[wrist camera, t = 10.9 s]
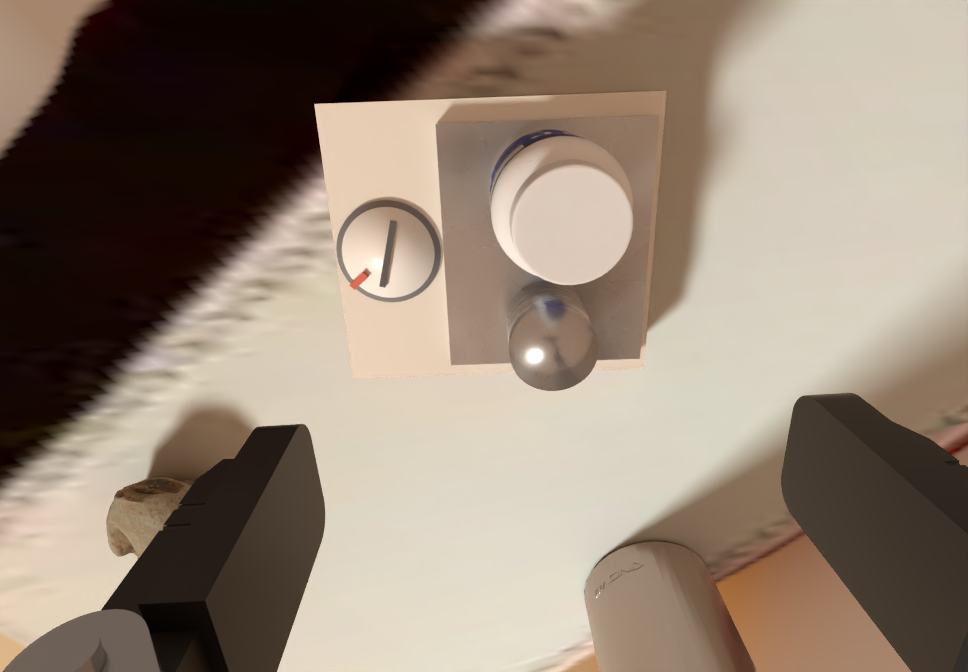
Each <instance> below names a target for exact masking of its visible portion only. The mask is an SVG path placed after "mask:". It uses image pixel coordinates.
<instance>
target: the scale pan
mask: <svg viewBox="0 0 968 672" xmlns="http://www.w3.org/2000/svg"><path fill="white" fill-rule="evenodd" d="M435 126H436V142H437V157H438V173H439V188H440V204H441V219H442V235H443V250H444V266H445V281H446V297H447V313H448V328H449V344H450V359H451V365H474V364H503V363H511V361H510V356H509V345H508V333H507V321H506V320H507V311H508V307H509V305H510V303H511V301H512V299H513V298H514V297H515V296H516V294H517V293H518V292H519V291H521V290H522V289H523V288H525V287H527V286H529V285H531V284H533V283H537V282H542V281H546V280H544V279H542V278H540V277H538V276H535V275H533V274H531V273H529V272H527V271H525V270H524V269H522V268H521V267H519V266H518V265H517V264H516V263H514V262H513V261H512V260H511V259H510V258H509V256H508V255H507V254H506V253H505V252H504V250H503V249H502V247H501V246H500V244H499V242H498V240H497V238H496V235H495V232H494V229H493V225H492V221H491V210H490V192H489V188H490V179H491V175H492V171H493V168H494V166H495V164H496V162H497V160H498V158H499V157H500V155H501V154H502V152H503V151H504V150H505V149H506V148H507V147H508V146H509V145H510V144H511V143H512V142H513V141H515V140H516V139H518V138H519V137H521V136H523V135H525V134H527V133H530V132H533V131H537V130H543V129H556V130H561V131H565V132H568V133H571V134H573V135H576V136H579V137H581V138H584V139H587V140H589V141H592V142H594V143H596V144H598V145H599V146H601V147H602V148H604V149H605V150H606V151H608V152H609V153H610V154H611V155H612V156H613V157H614V158H615V159H616V160H617V162H618V163H619V164H620V165H621V167H622V168H623V170H624V172H625V174H626V176H627V178H628V180H629V183H630V186H631V190H632V196H633V231H632V236H631V239H630V242H629V245H628V247H627V249H626V251H625V253H624V254H623V256H622V257H621V259H620V260H619V261H618V263H617V264H616V265H615V266H614V267H613V268H612V269H611V270H609V271H608V272H607V273H605V274H604V275H602V276H601V277H599V278H597V279H595V280H592V281H589V282H587V283H583V284H577V285H566V286H567V287H569V288H570V289H572V290H573V291H574V292H575V293H576V294H577V295H578V297H579V298H580V300H581V302H582V304H583V306H584V308H585V311H586V313H587V315H588V317H589V319H590V322H591V324H592V326H593V328H594V331H595V333H596V336H597V338H598V343H599V354H598V358H597V360H620V359H640V352H641V339H642V327H643V314H644V302H645V289H646V276H647V264H648V251H649V239H650V226H651V214H652V201H653V188H654V176H655V163H656V151H657V138H658V126H659V115H636V116H609V117H583V118H557V119H530V120H504V121H477V122H451V123H436V124H435Z"/></svg>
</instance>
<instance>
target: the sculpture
mask: <svg viewBox="0 0 968 672" xmlns="http://www.w3.org/2000/svg"><path fill="white" fill-rule="evenodd" d="M194 482H195V481H193V480H185V481H183V482H180V481H177V480H175V479H171V478H166V477H156V478H151V479H147V480H143V481H141V482H138V483H135V484H132V485H129V486H126V487H124V488H123V489H122V490H119V491H117V493H116V494H115V497H114V501H113V502H112V504H111V506H110V509H109V512H108V516H107V536H108V542H109V546H110V548H111V550H112V551H113V553H114V554H115V555H117V556H118V557H119V556H124V555H126V554H128V553H134V554H135V555H136V556H137V557H138V559H139V557H140V556H141V555H142V553H143V552H144V551H145V549H146V548H147V546H148V545H149V544H150V542H151V541H152V540H153V538H154V537H155V535H156V534H157V533H158V531H160V530H163V524H164V523H165V522H166V520H167V519H168V518H169V516H170V515H171V513H172V512H173V511H174V509H178V504H179V503H180V501H181V500H182V498H183V497H184V496H185V494H186V493H187V492H188V490H189V489H190V487H191V486H192V485H193V483H194Z"/></svg>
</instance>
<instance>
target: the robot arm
mask: <svg viewBox="0 0 968 672" xmlns="http://www.w3.org/2000/svg"><path fill="white" fill-rule="evenodd" d="M781 485H782V492H783V496H784V500H785V503H786V505H787V508H788V509H789V511H790V513H791V515H792V516H793V517H794V519H795V520H796V521H797V523H798V524H799V525H800V526H801V528H802V529H803V530H804V532H805V533H806V534H807V536H808V537H809V538H810V540H811V541H812V542H813V543H814V545H815V546H816V547H817V549H818V550H819V551H820V553H821V554H822V555H823V557H824V558H825V559H826V560H827V562H828V563H829V564H830V566H831V567H832V568H833V569H834V571H835V572H836V573H837V575H838V576H839V577H840V579H841V580H842V581H843V583H844V584H845V585H846V587H847V588H848V589H849V590H850V592H851V593H852V594H853V596H854V597H855V598H856V600H857V601H858V602H859V604H860V605H861V606H862V607H863V609H864V610H865V611H866V613H867V614H868V615H869V617H870V618H871V619H872V621H873V622H874V623H875V624H876V626H877V627H878V628H879V630H880V631H881V632H882V633H883V635H884V636H885V638H886V639H887V640H888V641H889V643H890V644H891V645H892V647H893V648H894V649H895V651H896V652H897V653H898V654H899V656H900V657H901V658H902V660H903V661H904V662H905V663H906V665H907V666H908V667H909V669H910V670H911V671H912V672H968V467H967V466H965V465H960V464H959V460H957V459H956V458H955V457H953V456H952V455H951V454H949V453H948V452H947V451H945V450H944V449H943V448H941V447H940V446H939V445H937V444H936V443H935V442H933V441H932V440H931V439H929V438H927V437H925V436H922V435H920V434H918V433H916V432H914V431H912V430H909V429H907V428H905V427H903V426H901V425H899V424H896V423H894V422H892V421H891V420H889V419H888V418H887V417H885V416H884V415H883V414H881V413H880V412H879V411H878V410H876V409H875V408H874V407H872V406H871V405H870V404H868V403H867V402H866V401H865V400H863V399H862V398H861V397H859V396H858V395H856V394H853V393H841V394H824V395H807V396H802V397H800V398H799V399H798V400H797V401H796V403H795V405H794V408H793V412H792V418H791V424H790V429H789V435H788V441H787V446H786V452H785V458H784V464H783V469H782V476H781ZM324 526H325V504H324V498H323V493H322V488H321V483H320V478H319V474H318V469H317V464H316V459H315V454H314V449H313V444H312V440H311V435H310V432H309V430H308V428H307V427H306V425H304V424H296V425H280V426H263V427H257V428H255V429H254V430H253V432H252V433H251V435H250V436H249V438H248V439H247V441H246V442H245V444H244V445H243V447H242V448H241V450H240V451H239V453H238V454H237V456H236V457H235V459H223V460H222V461H221V462H219V463H218V464H217V465H215V466H214V467H213V468H211V469H210V470H209V471H207V472H206V473H205V474H203V475H202V476H201V477H199V478H198V479H197V480H196V481H195V482H194V483H193V485H192V486H191V487H190V489H189V490H188V492H187V493H186V494H185V496H184V497H183V498H182V500H181V501H180V503H179V504H178V509H174V511H173V512H172V513H171V515H170V516H169V518H168V519H167V520H166V522H165V523H164V524H163V530H160V531H158V533H157V534H156V535H155V537H154V538H153V540H152V541H151V542H150V544H149V545H148V546H147V548H146V549H145V551H144V552H143V553H142V555H141V556H140V557H139V559H138V560H137V562H136V563H135V564H134V566H133V567H132V568H131V570H130V571H129V573H128V574H127V575H126V577H125V578H124V579H123V581H122V582H121V584H120V585H119V586H118V588H117V589H116V590H115V592H114V593H113V594H112V596H111V597H110V599H109V600H108V601H107V603H106V604H105V605H104V607H103V608H102V610H101V611H97V612H92V613H89V614H86V615H83V616H80V617H77V618H75V619H73V620H70V621H68V622H66V623H64V624H62V625H60V626H58V627H56V628H54V629H52V630H51V631H49V632H48V633H46V634H44V635H43V636H41V637H40V638H38V639H37V640H36V641H34V642H33V643H32V644H30V645H29V646H28V647H27V648H25V649H24V650H23V651H22V652H21V653H20V654H18V655H17V656H16V657H15V658H14V659H13V660H12V661H11V663H10V664H9V665H8V666H7V667H6V668H5V669H4V670H3V672H277V669H278V666H279V664H280V661H281V658H282V655H283V652H284V649H285V646H286V643H287V640H288V637H289V634H290V632H291V629H292V626H293V623H294V620H295V617H296V614H297V611H298V608H299V605H300V602H301V599H302V597H303V594H304V591H305V588H306V585H307V582H308V579H309V576H310V573H311V570H312V567H313V565H314V562H315V559H316V556H317V553H318V550H319V547H320V544H321V541H322V538H323V533H324ZM584 594H585V604H586V609H587V614H588V618H589V623H590V628H591V633H592V638H593V643H594V649H595V653H596V658H597V663H598V668H599V672H757V670H756V667H755V666H754V663H753V661H752V659H751V657H750V655H749V653H748V651H747V649H746V647H745V645H744V643H743V641H742V638H741V636H740V634H739V632H738V630H737V628H736V626H735V624H734V622H733V620H732V617H731V615H730V613H729V611H728V609H727V607H726V605H725V603H724V601H723V599H722V596H721V594H720V592H719V590H718V588H717V586H716V584H715V582H714V580H713V578H712V576H711V574H710V572H709V570H708V568H707V566H706V564H705V562H704V561H703V560H702V559H701V558H700V557H699V556H698V555H697V554H695V553H694V552H692V551H691V550H689V549H688V548H685V547H682V546H680V545H677V544H673V543H668V542H643V543H637V544H632V545H629V546H626V547H623V548H621V549H619V550H617V551H615V552H613V553H611V554H609V555H608V556H607V557H606V558H604V559H603V560H602V561H601V562H599V563H598V565H597V566H596V567H595V568H594V569H593V570H592V572H591V574H590V576H589V578H588V579H587V582H586V586H585V590H584Z"/></svg>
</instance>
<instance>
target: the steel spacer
mask: <svg viewBox="0 0 968 672" xmlns="http://www.w3.org/2000/svg"><path fill="white" fill-rule="evenodd" d="M506 321H507V333H508V345H509V356H510V361H511V365H512V367H513V369H514V371H515V372H516V374H517V375H518V376H519V378H521V379H522V380H523V381H524V382H525V383H527V384H528V385H530V386H532V387H534V388H537V389H541V390H547V391H557V390H563V389H567V388H570V387H572V386H574V385H576V384H578V383H580V382H581V381H582V380H584V379H585V378H586V377H587V376H588V375H589V374H590V372H591V371H592V370H593V368H594V366H595V364H596V361H597V358H598V354H599V343H598V338H597V336H596V333H595V331H594V328H593V326H592V324H591V322H590V319H589V317H588V315H587V313H586V311H585V308H584V306H583V304H582V302H581V300H580V298H579V297H578V295H577V294H576V293H575V292H574V291H573V290H572V289H570V288H569V287H567V286H566V285H561V284H556V283H552V282H549V281H542V282H537V283H533V284H531V285H529V286H527V287H525V288H523V289H522V290H521V291H519V292H518V293H517V294H516V296H515V297H514V298H513V299H512V301H511V303H510V305H509V307H508V311H507V320H506Z"/></svg>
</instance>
